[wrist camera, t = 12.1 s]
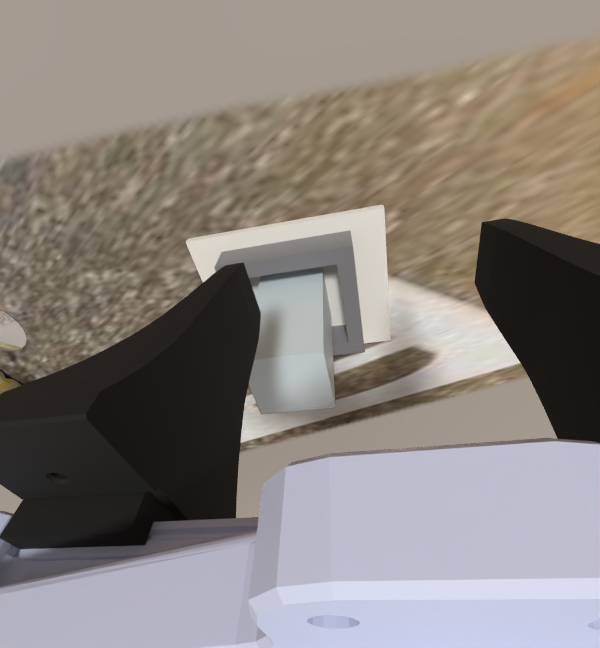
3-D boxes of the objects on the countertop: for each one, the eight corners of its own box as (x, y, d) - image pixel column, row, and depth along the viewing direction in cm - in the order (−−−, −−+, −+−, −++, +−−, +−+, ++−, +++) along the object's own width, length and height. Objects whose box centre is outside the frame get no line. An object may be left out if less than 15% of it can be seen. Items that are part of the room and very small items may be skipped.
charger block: (322, 265, 22) (323, 351, 16) (331, 315, 24) (335, 407, 18) (261, 274, 23) (239, 361, 16) (275, 322, 25) (261, 414, 19)
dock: (382, 204, 20) (389, 221, 18) (389, 335, 26) (395, 359, 24) (188, 238, 22) (175, 257, 20) (236, 353, 28) (230, 377, 26)
